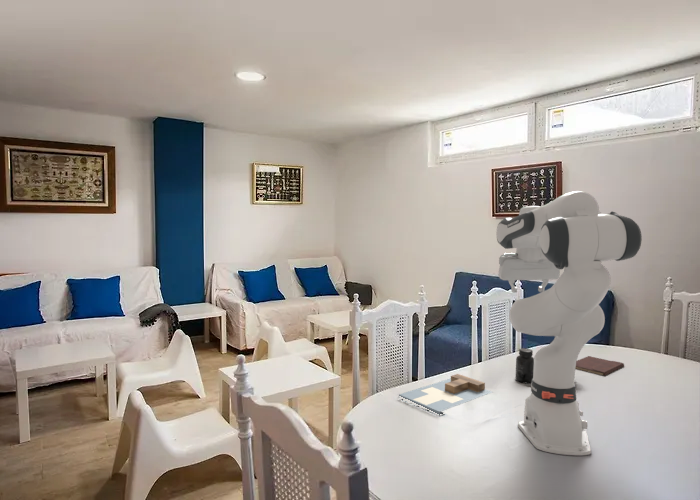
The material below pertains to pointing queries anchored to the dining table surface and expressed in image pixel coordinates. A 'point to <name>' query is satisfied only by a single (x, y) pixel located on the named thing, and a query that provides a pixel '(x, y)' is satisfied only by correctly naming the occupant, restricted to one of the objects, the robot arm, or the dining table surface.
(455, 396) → the board
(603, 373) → the notebook
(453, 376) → the t block
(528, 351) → the supplement bottle
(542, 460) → the dining table surface
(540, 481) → the dining table surface
